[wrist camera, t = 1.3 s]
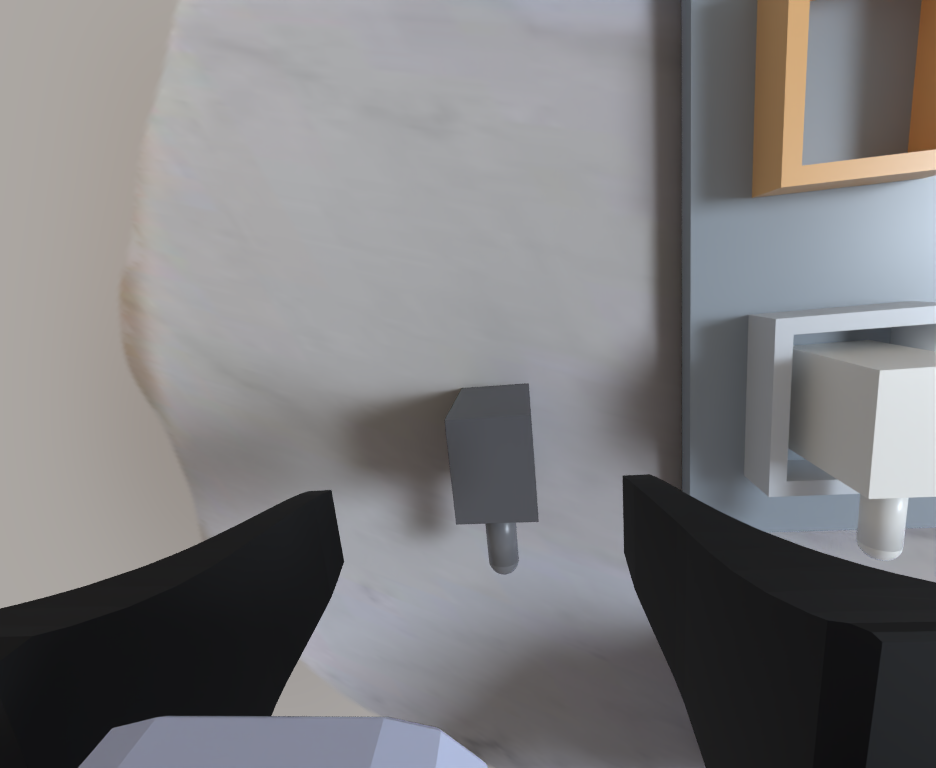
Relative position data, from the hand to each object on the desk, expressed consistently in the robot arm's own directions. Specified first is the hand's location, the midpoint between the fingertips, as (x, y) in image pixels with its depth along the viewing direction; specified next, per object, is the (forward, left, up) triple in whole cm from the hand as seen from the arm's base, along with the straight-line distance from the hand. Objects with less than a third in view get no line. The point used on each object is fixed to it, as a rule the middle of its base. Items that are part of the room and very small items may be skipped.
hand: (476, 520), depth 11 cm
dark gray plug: (-2, 0, -10) cm, 10 cm away
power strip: (+6, -13, -10) cm, 18 cm away
